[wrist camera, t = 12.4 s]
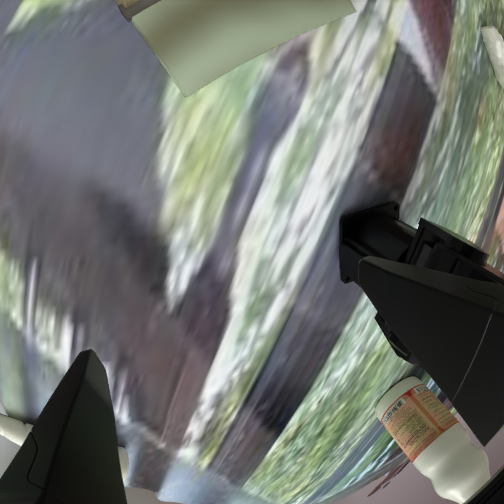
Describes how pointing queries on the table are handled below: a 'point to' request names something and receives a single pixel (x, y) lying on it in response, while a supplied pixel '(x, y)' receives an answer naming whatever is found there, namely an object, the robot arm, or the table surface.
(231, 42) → the shallow wooden tray
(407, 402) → the fruit juice
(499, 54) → the beige lumpy upright piece
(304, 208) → the table surface
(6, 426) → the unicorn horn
